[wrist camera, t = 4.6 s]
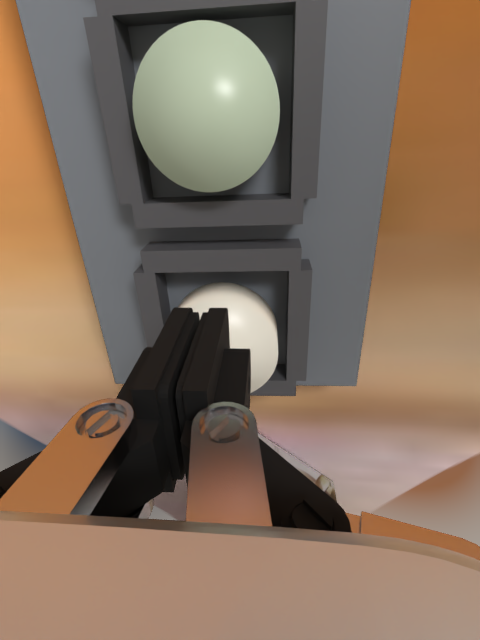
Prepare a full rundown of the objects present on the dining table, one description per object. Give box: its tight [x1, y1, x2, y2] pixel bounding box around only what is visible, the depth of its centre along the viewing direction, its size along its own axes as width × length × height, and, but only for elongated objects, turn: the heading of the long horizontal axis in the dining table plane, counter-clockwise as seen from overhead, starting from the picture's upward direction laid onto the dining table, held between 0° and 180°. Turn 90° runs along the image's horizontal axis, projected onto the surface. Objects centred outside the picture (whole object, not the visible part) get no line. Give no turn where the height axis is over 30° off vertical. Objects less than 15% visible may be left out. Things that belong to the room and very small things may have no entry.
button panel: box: [16, 0, 411, 396], centre depth 15 cm, size 14×27×4 cm, turn 2°
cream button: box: [178, 282, 278, 393], centre depth 16 cm, size 5×5×2 cm
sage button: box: [133, 20, 280, 192], centre depth 13 cm, size 5×5×2 cm
